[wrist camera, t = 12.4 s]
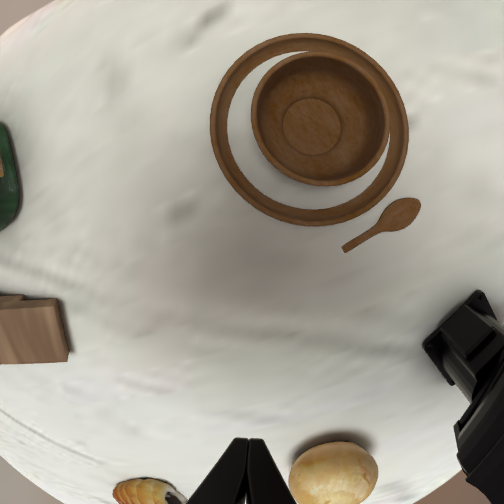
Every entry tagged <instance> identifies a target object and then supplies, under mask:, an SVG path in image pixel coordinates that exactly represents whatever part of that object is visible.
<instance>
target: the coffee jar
mask: <svg viewBox="0 0 504 504" xmlns="http://www.w3.org/2000/svg"><path fill="white" fill-rule="evenodd" d="M18 201H19V191H18V184H17V177H16V171H15V166H14V161H13V156H12V151H11V147H10V143H9V140H8V136H7V133H6V130H5V128H4V127H3V125H2V124H1V123H0V230H2V229H3V228H4V227H6V226H7V225H8V224H9V223H10V221H11V220H12V219H13V217H14V215H15V212H16V209H17V206H18Z"/></svg>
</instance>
